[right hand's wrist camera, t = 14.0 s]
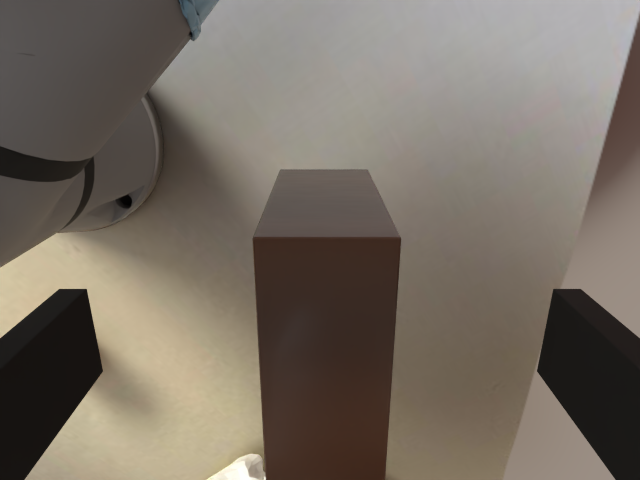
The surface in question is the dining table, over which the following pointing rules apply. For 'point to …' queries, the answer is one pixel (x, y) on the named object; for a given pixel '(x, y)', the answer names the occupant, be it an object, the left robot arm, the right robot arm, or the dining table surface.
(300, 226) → the walnut bar
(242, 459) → the skull
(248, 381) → the dining table surface
